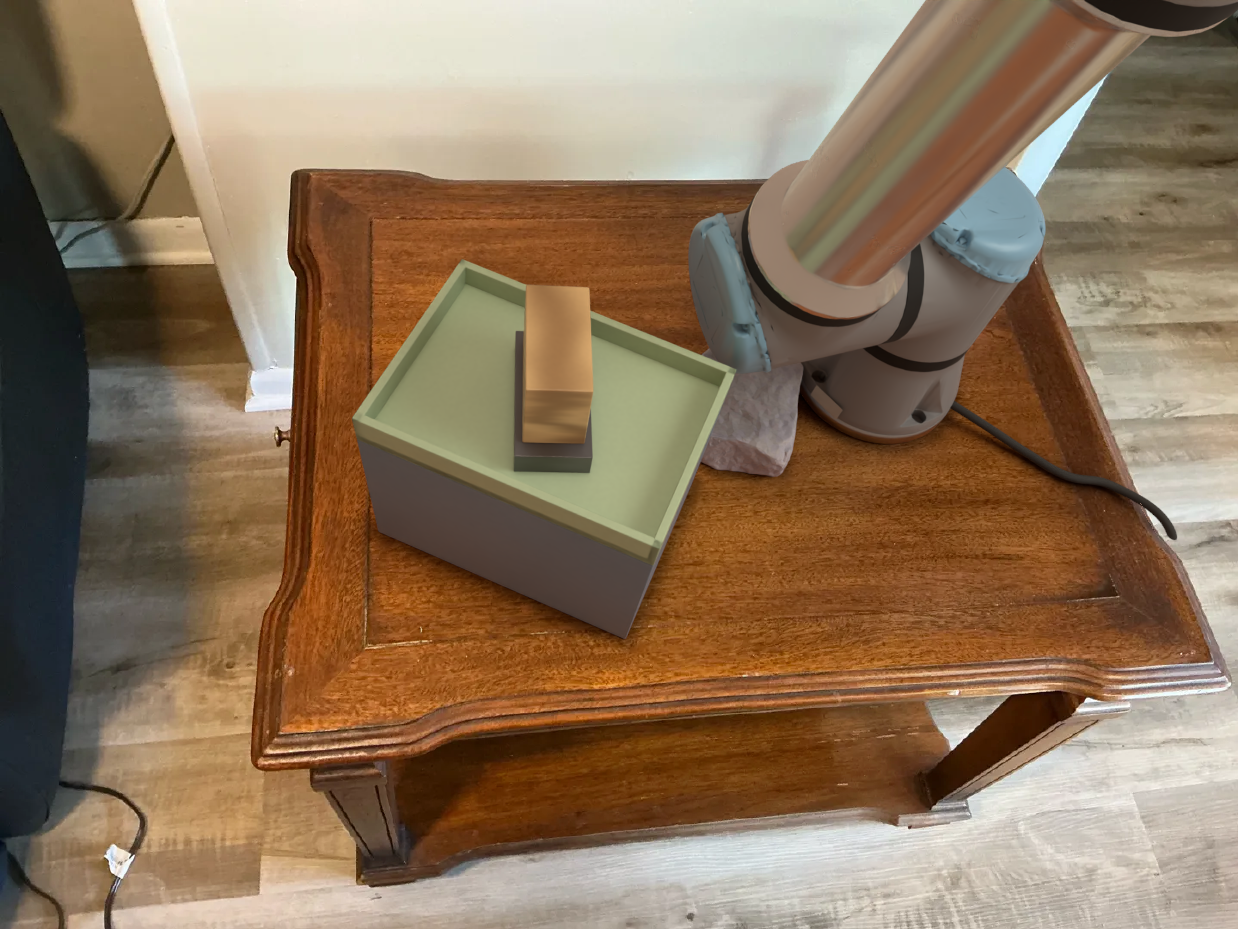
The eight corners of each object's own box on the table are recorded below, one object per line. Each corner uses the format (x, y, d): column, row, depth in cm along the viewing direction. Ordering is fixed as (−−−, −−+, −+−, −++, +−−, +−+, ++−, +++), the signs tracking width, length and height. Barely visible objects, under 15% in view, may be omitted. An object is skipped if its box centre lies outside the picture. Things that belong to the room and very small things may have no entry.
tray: (728, 390, 67) (737, 369, 65) (653, 566, 59) (659, 549, 57) (462, 282, 69) (461, 258, 66) (356, 439, 61) (351, 418, 59)
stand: (691, 483, 79) (728, 390, 67) (625, 639, 71) (653, 566, 59) (466, 389, 81) (462, 282, 69) (378, 531, 73) (356, 439, 61)
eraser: (585, 350, 66) (596, 274, 59) (589, 473, 61) (602, 406, 54) (514, 348, 65) (518, 271, 58) (513, 471, 60) (516, 403, 54)
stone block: (675, 471, 81) (790, 485, 79) (673, 439, 77) (795, 452, 76) (694, 367, 88) (801, 378, 86) (693, 333, 84) (806, 343, 82)
